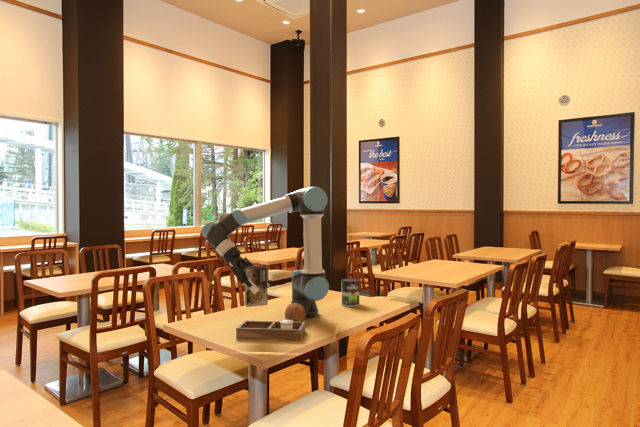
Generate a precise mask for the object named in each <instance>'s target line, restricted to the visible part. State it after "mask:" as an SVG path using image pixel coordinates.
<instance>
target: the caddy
mask: <svg viewBox="0 0 640 427" xmlns="http://www.w3.org/2000/svg"><path fill="white" fill-rule="evenodd" d="M280 321H281V320H280ZM280 321H278V320H244V321H243V322H241V323H240V324H239V325H238V326H237V327H236V328H235V329H236V330H235V332H236V334H235V335H236V336H235V338H236V339H237V340H238V339H239V340H240V339H242V340H266V341H267V340H271V341H273V340H274V341H300V342H301V341H302V339H303V337H304V335H305V334H306V321H303V322H293V329H281V324H280Z"/></svg>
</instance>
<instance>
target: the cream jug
mask: <svg viewBox="0 0 640 427" xmlns="http://www.w3.org/2000/svg"><path fill="white" fill-rule="evenodd" d="M280 324H281V329H293V320H286V319H282V320H280Z"/></svg>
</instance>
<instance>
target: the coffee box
mask: <svg viewBox="0 0 640 427" xmlns="http://www.w3.org/2000/svg"><path fill="white" fill-rule="evenodd" d="M244 271H245V273H246V276H247V278H248V279H249V278H250V280H251V281H252V282H253V283H254V284H255V285H256V286H257V288H258V289H259V291H258V292H257V293H256V294H255V295H254V293H253V292H252V291H251V290H250V289H249V288H248V287H247V285H246V284H245V283H244V305H245V307H246V308H249V307H261V306H268V304H269V303H268V288H267V283H268V267H267V266H266V265H254V266H249V267H244Z"/></svg>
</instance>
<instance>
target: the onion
mask: <svg viewBox="0 0 640 427" xmlns="http://www.w3.org/2000/svg"><path fill="white" fill-rule="evenodd" d="M284 318H285V320H293V322H304V320H305V319H306V318H305V310H304V308H303V307H302V306H301V305H300V304H298V303H292V304H291V303H290V304H289V303H288V305H287V307H286V309H285V311H284Z"/></svg>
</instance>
